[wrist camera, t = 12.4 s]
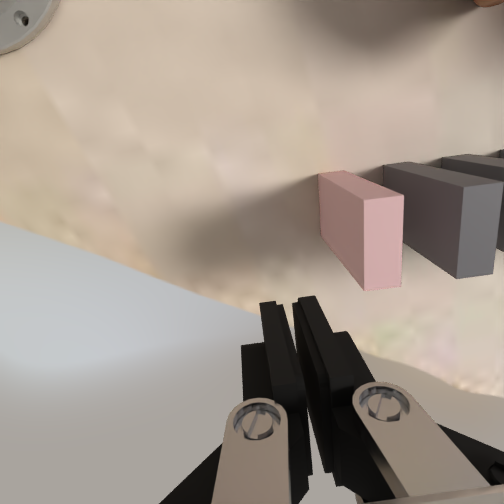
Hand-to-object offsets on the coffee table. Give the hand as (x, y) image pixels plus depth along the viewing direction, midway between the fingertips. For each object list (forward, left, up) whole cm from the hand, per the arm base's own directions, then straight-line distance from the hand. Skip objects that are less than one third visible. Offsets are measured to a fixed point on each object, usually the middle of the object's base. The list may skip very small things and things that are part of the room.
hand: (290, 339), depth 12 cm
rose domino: (+6, 0, -17) cm, 18 cm away
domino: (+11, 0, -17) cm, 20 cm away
